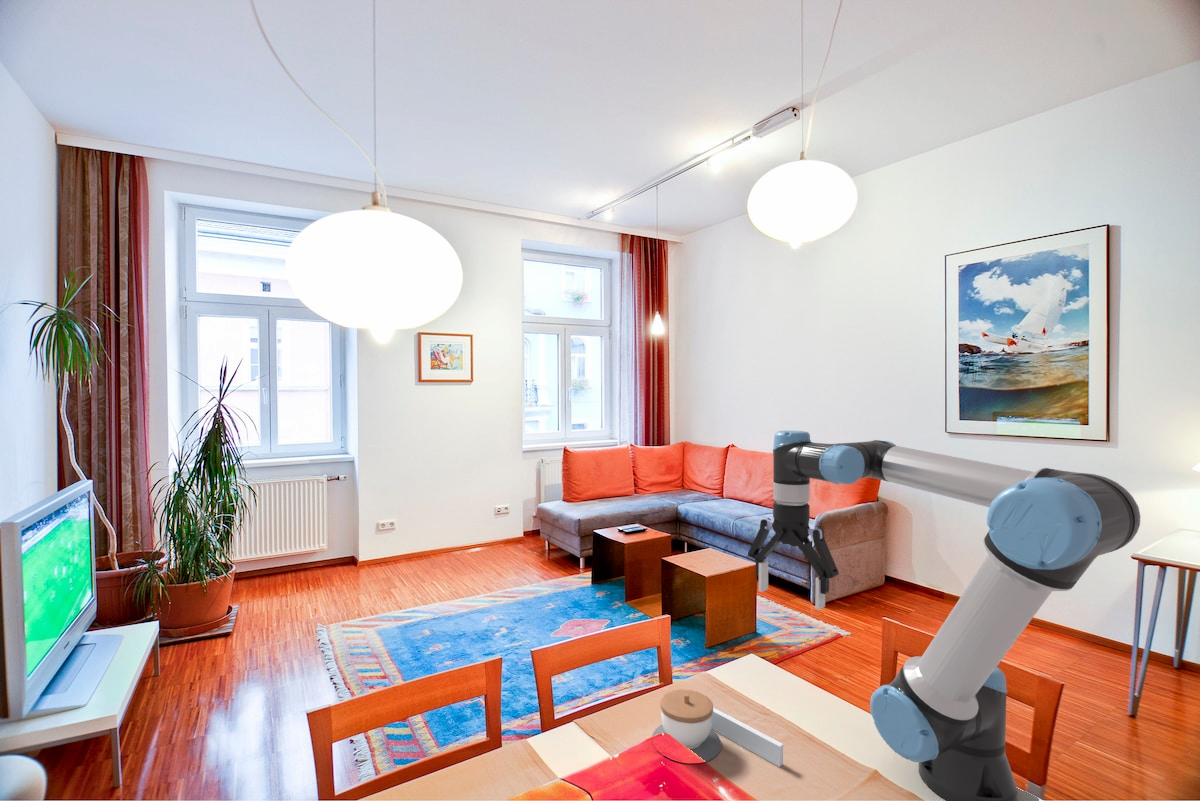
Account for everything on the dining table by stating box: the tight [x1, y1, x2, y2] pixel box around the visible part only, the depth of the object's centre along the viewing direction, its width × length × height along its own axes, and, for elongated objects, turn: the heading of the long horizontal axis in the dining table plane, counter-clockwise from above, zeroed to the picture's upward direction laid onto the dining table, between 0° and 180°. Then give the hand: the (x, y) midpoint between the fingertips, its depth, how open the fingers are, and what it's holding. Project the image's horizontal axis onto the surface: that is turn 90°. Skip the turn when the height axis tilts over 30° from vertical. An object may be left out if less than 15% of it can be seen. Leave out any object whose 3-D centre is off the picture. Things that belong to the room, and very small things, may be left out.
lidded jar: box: [659, 689, 714, 749], centre depth 117 cm, size 11×11×9 cm
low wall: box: [711, 707, 784, 768], centre depth 117 cm, size 22×1×4 cm, turn 41°
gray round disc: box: [651, 724, 722, 763], centre depth 117 cm, size 14×14×1 cm
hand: (790, 599), depth 124 cm, fingers open, 13 cm apart
